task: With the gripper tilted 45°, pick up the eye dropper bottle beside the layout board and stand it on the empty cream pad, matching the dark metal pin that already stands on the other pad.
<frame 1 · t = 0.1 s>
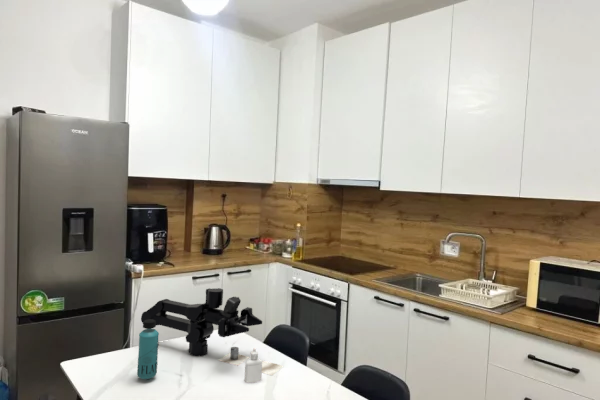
hand: (255, 326, 146), 17 cm above the table, tool horizontal, fingers open, 9 cm apart
metal pin: (234, 358, 154), resting on layout board
layout board: (248, 366, 150), on the table
beverage bottle: (146, 379, 137), on the table
eye dropper bottle: (252, 383, 138), on the table
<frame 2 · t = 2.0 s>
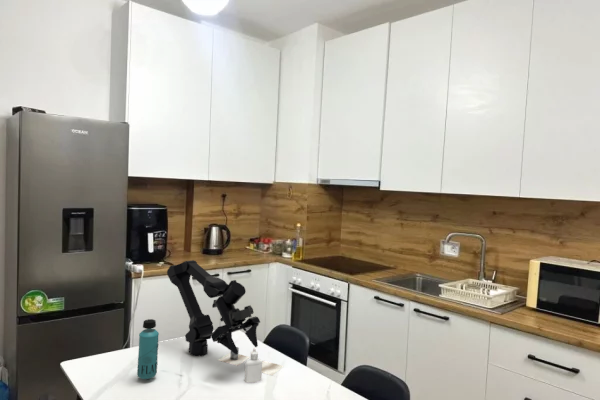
hand: (247, 350, 140), 10 cm above the table, tool tilted 45°, fingers open, 9 cm apart
nothing on the table moved.
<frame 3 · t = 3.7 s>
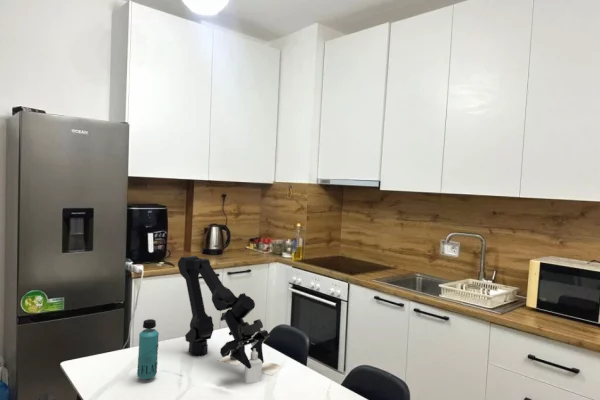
hand: (256, 365, 137), 7 cm above the table, tool tilted 45°, fingers closed on eye dropper bottle, 5 cm apart
eye dropper bottle: (252, 383, 138), on the table, touching gripper
everything else where it was.
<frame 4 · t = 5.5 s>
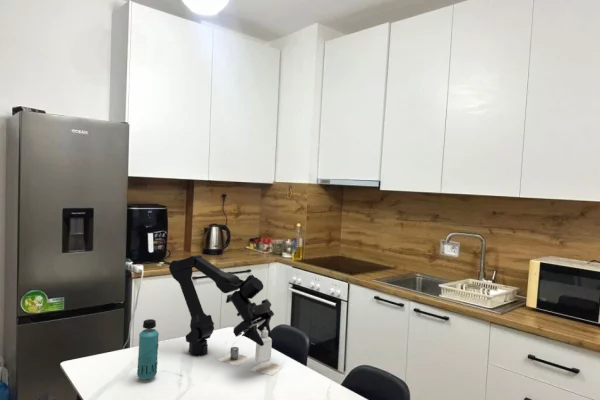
hand: (267, 342, 143), 12 cm above the table, tool tilted 45°, fingers closed on eye dropper bottle, 5 cm apart
eye dropper bottle: (262, 360, 143), point 5 cm above the table, touching gripper
everything else where it was.
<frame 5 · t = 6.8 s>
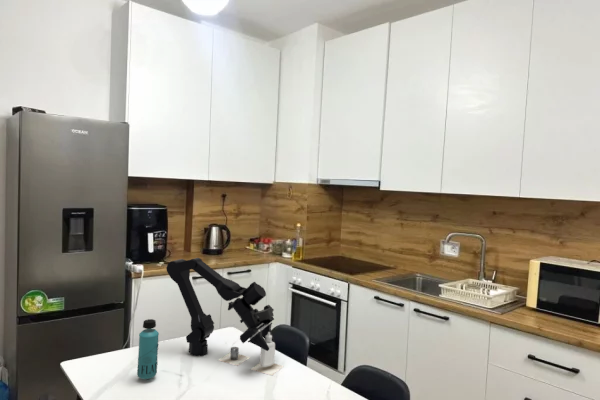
hand: (271, 347, 147), 9 cm above the table, tool tilted 45°, fingers closed on eye dropper bottle, 5 cm apart
eye dropper bottle: (266, 365, 148), point 2 cm above the table, touching gripper
everything else where it was.
when the fingers open (9 cm above the table, at t = 7.5 s): eye dropper bottle stays where it is, resting on layout board.
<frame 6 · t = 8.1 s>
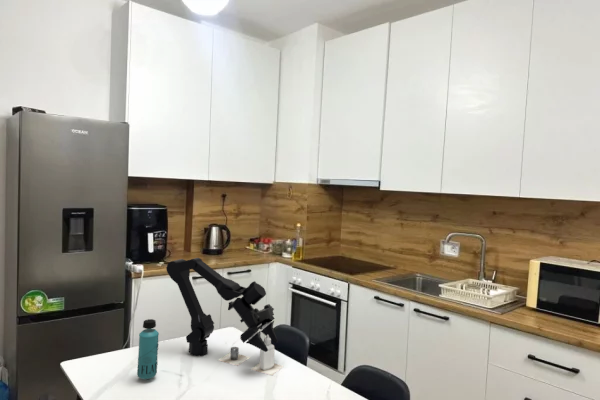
hand: (272, 346, 147), 9 cm above the table, tool tilted 45°, fingers open, 9 cm apart
eye dropper bottle: (266, 367, 148), point 1 cm above the table, touching layout board
everything else where it was.
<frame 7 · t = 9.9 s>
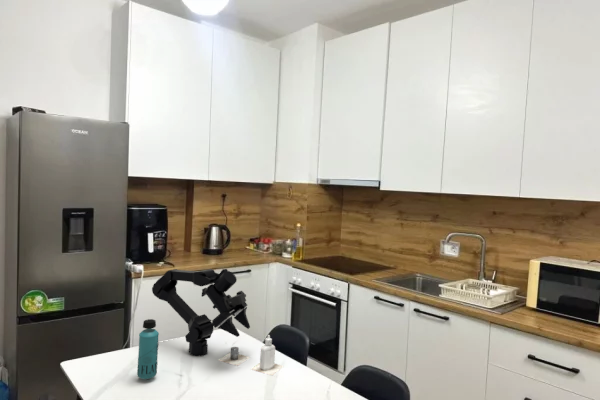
hand: (244, 332, 150), 13 cm above the table, tool tilted 45°, fingers open, 9 cm apart
nothing on the table moved.
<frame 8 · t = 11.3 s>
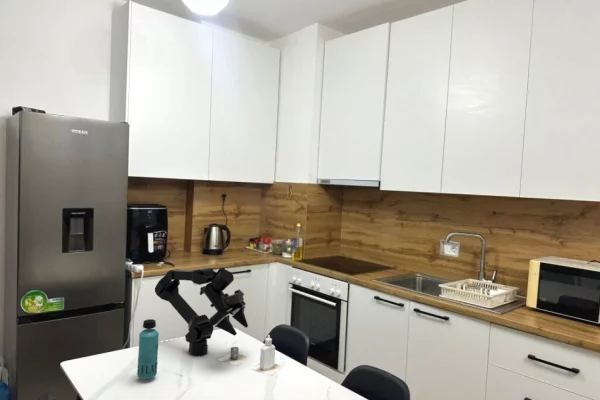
hand: (241, 330, 149), 14 cm above the table, tool tilted 45°, fingers open, 9 cm apart
nothing on the table moved.
at the end: eye dropper bottle 0.1 cm from the target spot, point 0.9 cm above the table; eye dropper bottle tilted 0°; the gripper is holding nothing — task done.
